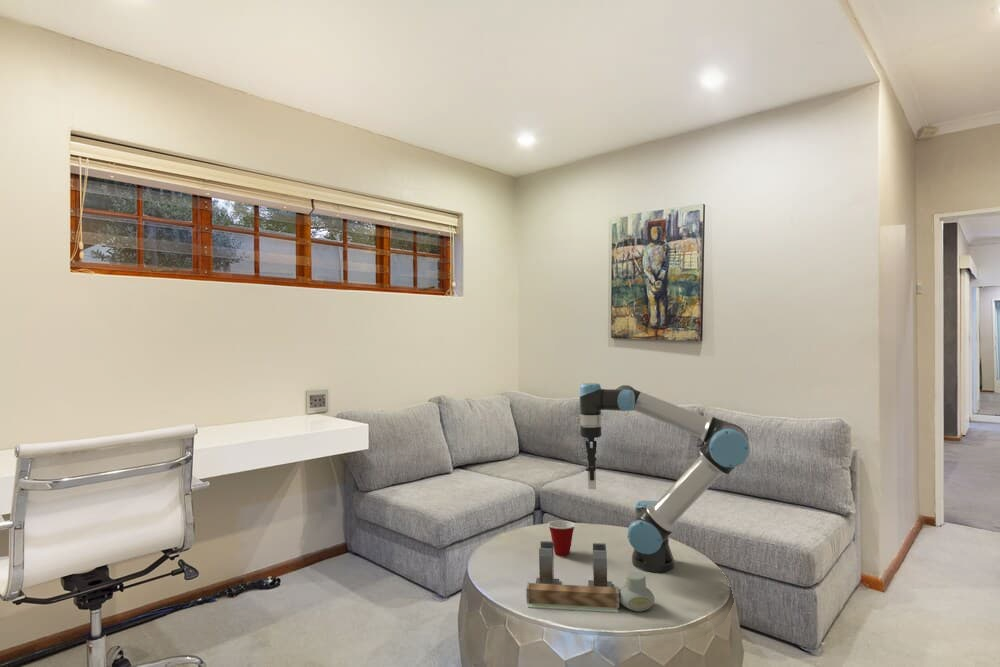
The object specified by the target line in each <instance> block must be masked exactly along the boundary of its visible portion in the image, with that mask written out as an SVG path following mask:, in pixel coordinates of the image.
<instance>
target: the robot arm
mask: <svg viewBox="0 0 1000 667" xmlns="http://www.w3.org/2000/svg"><path fill="white" fill-rule="evenodd" d="M579 411H580V412H579V415H580V416H578V420H580V423H579V424H580V428H579V429H580V437H582V438H586V439H587V440H585V448H586V454H587V468H586V470H585V471H586V472H587V489H588V490H597V475H596V474H597V471H596V470H597V468H596V461H597V457H596V454H597V446H598V444H597V440H595V439H596V438H597V439H598V438H600V437H602V426H601V425H602V411H617V412H619V411H620V412H621V411H622V412H631V411H634V412H637V413H640V414H642V415H644V416H647V417H649V418H651V419H653V420H657V421H659V422H661V423H664V424H667V425H669V426H672V427H674V428H676V429H678V430H681V431H683V432H686V433H689V434H690V435H691V434H692V435H694V436H696V437H698V438H700V440H701V442H702V443H704V444H703V445H702V446H701V448H700V449H699V457H698V458H697V459H696V460H694V462H693V463H692V464H691V465H690V466H689V467H688V469H687V470H685V472H684V473H683V474H682V475H681V476H679V478H678V479H677V480H676V481H674V483H673V485H671V486H670V487H669V489H668V490H667V491H665V493H664V494H662V496H661V497H660V498H659V499H658V500H648V499H647V500H638V501H637V502H636V503H635V516H634V518H633V519H632V521H631V523H630V524H629V526H628V528H627V540H628V542H629V544H630V545H631V547H632V548H633V551H632V556H631V564H632V565H633V566H634V567H636V568H638V569H640V570H642V571H645V572H649V573H650V572H652V573H663V572H669V571H671V570H673V569H674V567H675V559H674V556H673V553H672V550H671V548H670V543H669V536H670V535H671V534H672V533H673V532H674V531H675V523H676V522H677V521H678V520H679V519H680V518H681V517H682V516H683V515H684V513H686V512H687V510H688V509H689V508H690V507H692V505H693V504H694V503H695V502H696V501H697V500H699V498H701V496H702V495H703V494H704V493H705V492H706V491H707V490H708V488H710V486H712V484H714V482H716V481H717V479H719V477H720V476H722V475H723V476H725V475H726V476H727V475H729V474H730V473H731V472H732V471H733V470H734V469H736V467H738V466H741V465H742V464H743V463H745V461H746V460H747V459H748V457H749V454H750V443H749V437H748V435H747V432H746V431H745V430H744V429H743V428H742V427H741V426H739V425H738V424H735V423H732V422H729V421H727V420H723V419H721V418H717V417H714V416H710V417H707V416H705V415H701V414H699V413H696V412H693V411H692V410H689V409H687V408H683V407H681V406H678V405H675V404H673V403H671V402H668V401H665V400H664V399H660V398H658V397H655V396H652V395H651V394H650V395H649V394H648V393H645V392H642V391H639V390H637V389H635V388H634V387H633V386H631V385H624V384H623V385H620V386H618V387H617V388H615V389H610V388H609V389H606V388H605V389H604V388H602V387H601V384H600V383H596V382H590V383H589V382H585V383H582V384H580V386H579Z"/></svg>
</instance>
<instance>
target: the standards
mask: <svg viewBox="0 0 1000 667" xmlns="http://www.w3.org/2000/svg"><path fill="white" fill-rule="evenodd" d="M554 555H555V552H554V547H553V541H552V540H550V541H547V540H540V547H539V548H538V560H539V561H538V565H539V566H538V567H539V568H538V569H539V571H538V572H539V577H536V581H535V583H538V584H558V585H560V578H555V567H554V566H555V562H554V558H555V557H554ZM607 556H608V555H607V544H606V543H602V542H593V543H592V566H593V567H592V568H593V570H592V571H593V578H592V580H589V579H588V580H587V584H588V585H587V586H598V587H613V582H612V581H611V580H610V581H609V580H608V559H607Z"/></svg>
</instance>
